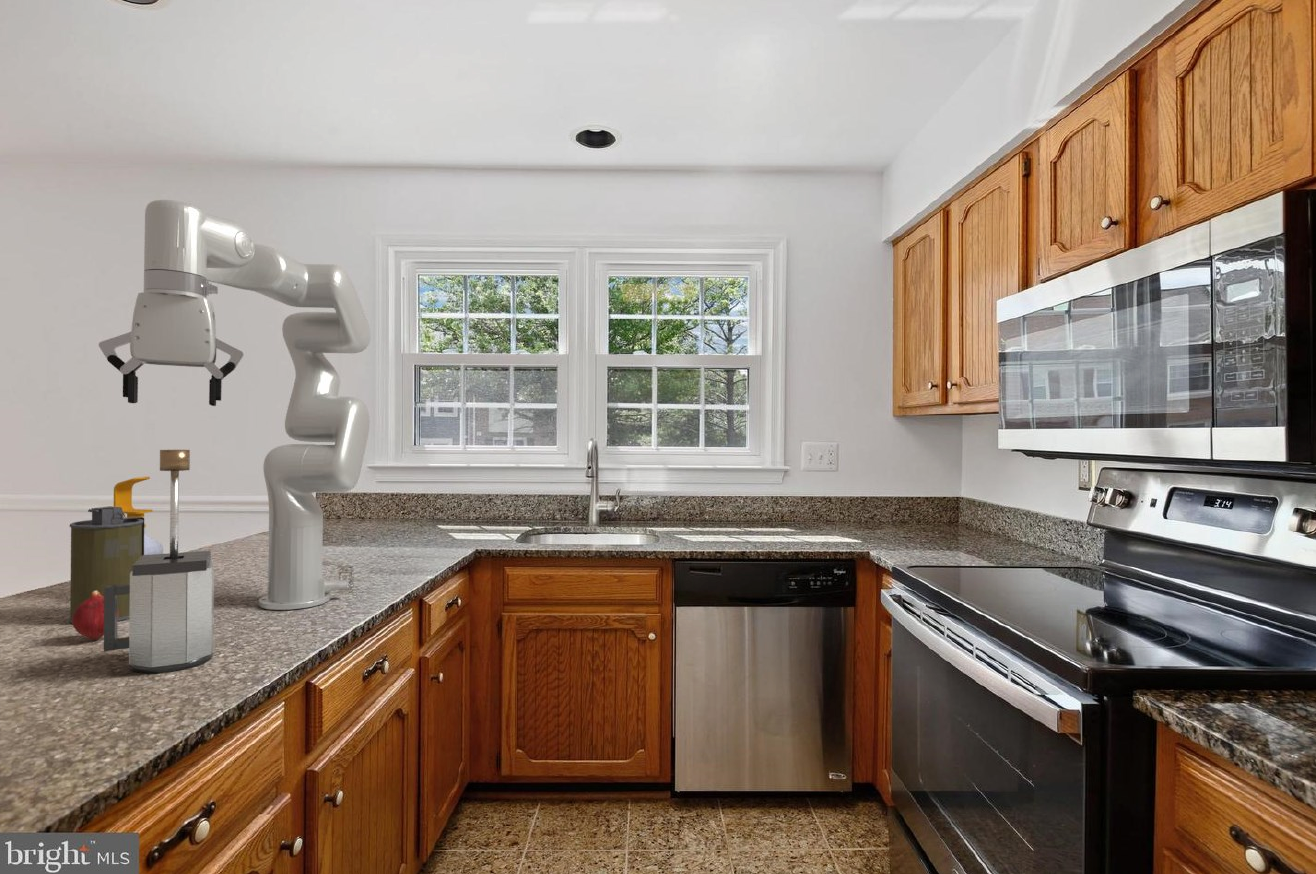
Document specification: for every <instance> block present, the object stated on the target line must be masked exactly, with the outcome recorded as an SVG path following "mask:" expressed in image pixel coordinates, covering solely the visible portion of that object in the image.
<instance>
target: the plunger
mask: <svg viewBox="0 0 1316 874" xmlns="http://www.w3.org/2000/svg"><path fill="white" fill-rule="evenodd" d="M190 451H191V450H190V449H159V471H161V472H163V471H164V472H170V492H169V493H170V496H169V497H170V498H169V500H170V501H169V502H170V504H169V505H170V506H169V515H170V516H169V553H170V559H178V553H179V507H180V506H179V502H180V501H179V499H180V492H179V491H180V489H179V488H180V485H179V484H180V471H181V472H183V471H185V472H186V471H190V469H191V467H190V466H191V465H190V461H191V459H190V455H191V452H190Z"/></svg>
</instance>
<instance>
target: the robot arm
mask: <svg viewBox="0 0 1316 874" xmlns="http://www.w3.org/2000/svg"><path fill="white" fill-rule="evenodd" d="M143 243H144V245H143V246H144V249H143V251H144V252H143V255H144V256H143V260H144V261H143V292H138V293H137V297H136V299H135V305H134V309H133V314H132V319H131V320H132V321H131V328H130V329H131V331H130V332H126V333H124V334H120V335H117V336H114V337H111V338H108V339H106V340H102V341H100V342H99V343H98V347H99V348H100V350H101V352H102V354H103V355H104V357H105V358H106V360H107V362H108V363H109V364H110V365H112V366H113V367H114V368H115V369H117V370H118V371H119V372H120V373H121V374H122V397H123V398H127V403H129V404H137V403H138V400H139V399H138V398H139V396H138V395H139V387H138V386H139V377H138V375H136V372H137V371H138V370H139V369H140V368H142V366H144V365H145V364H147V365H157V366H173V367H174V366H175V367H176V366H177V367H189V368H191V367H193V368H205V369H207V371H208V372H209V373H210V374H211V378H210V379H209V381H208V383H209V385H208V386H209V389H208V390H209V393H208V395H209V396H208V404H209V405H210V406H212V407H216V406H217V401H218V402H220V401H222V387H223V385H222V384H223V382H222V381H223V379H225V378H226V377H227V376H228V375H230V374H231V373H233V371H235V370H236V368H237V366H238V365H239V363H240V362H241V361H242V359H243V357H244V353H243V351H242V350H240V349H238V348H235V347H234V346H231V345H230V344H228V343H226V342H225V341H222V340H220V339H218V338H217V327H216V316H215V311H214V306H213V302H212V301H211V300H210V299H208V298H207V297H209V295H213V294H215V295H217V294H218V292H219V289H218V288H219V287H218V286H219V285H222V286H223V285H224V286H227V287H232V288H234V289H235V288H236V289H240V290H245V291H246V290H247V291H251V292H255V293H258V294H260V295H263V296H265V297H268V298H270V299H272V300H274V301H277V302H279V303H281V304H284V305H286V306H290V307H293V308H294V307H295V308H314V309H315V308H320V309H321V308H323V309H325V308H327V309H331V308H332V309H334V310H335V312H328V311H303V312H301V311H300V312H295V313H292V314H289V315H288V316H286V317H285V319H284V320H283V323H282V326H281V327H282V328H281V329H282V330H281V331H282V336H283V341H284V343H285V345H286V348H287V350H288V353H289V355H290V358H291V360H292V363H293V366H294V370H295V372H294V373H295V379H294V383H293V387H292V391H291V394H290V398H289V403H288V406H287V410H286V415H285V419H284V429H285V433H286V434H287V435H288V437H289V438H291V439H293V440H295V441H299V442H306V443H305V444H304V443H303V444H302V443H301V444H300V443H299V444H298V443H292V444H282V445H278V446H277V447H275V448H273V449H271V450H269V452H268V453H267V454H266V455H265V458H264V460H263V468H262V469H263V476H264V480H265V486H266V491H267V498H268V559H267V560H268V564H267V565H268V567H267V568H268V571H267V573H268V579H267V594H266V595H265V596H262V597H260V598H259V599H258V606H259V607H260V608H261V609H265V610H272V611H273V610H274V611H275V610H276V611H282V610H283V611H285V610H288V611H289V610H297V609H306V608H311V607H312V608H313V607H316V606H320V605H323V604H326V603H327V602H329V601H330V600H331V593H330V592H331V591H346V590H348V579H342V580H340V579H332V580H330V579H325V576H324V574H323V547H324V546H323V544H324V543H323V541H324V538H323V535H324V529H323V528H324V527H323V526H324V524H323V523H324V514H323V511H322V507H321V505H320V503H319V502H318V500H317V499H316V497H315V496H314V494H313V493H323V494H326V493H327V494H329V493H333V494H335V493H347V492H349V491H352V490H353V489H354V488H355V487H356V485H357V484H358V481H359V480H360V475H361V471H362V467H363V462H364V457H365V452H366V447H367V442H368V438H369V437H368V436H369V431H370V425H371V424H370V422H371V421H370V414H369V409H368V407H367V405H366V404H365V402H363V401H362V400H361V399H359V398H356V397H354V396H353V397H351V396H339V392H340V391H339V390H340V387H341V386H340V385H341V379H340V376H339V373H338V372H337V370H336V368H335V367H334V366H333V365H332V363H331V362H330V361H329V360H328V359H327V357H326V356H325V355H324V354H358V353H361V352H364V351H365V350H366V349H367V347H368V346H369V345H370V341H371V329H370V325H369V323H368V319H367V316H366V313H365V311H364V308H363V306H362V302H361V300H360V297H359V295H358V292H357V289H356V287H355V286H354V284H353V281H352V280H351V278H350V276H349V275H348V273H347V272H346V271H345V269H344V268H342V267H341V266H339V265H337V264H325V263H324V264H323V263H322V264H321V263H318V264H317V263H315V264H314V263H310V264H309V263H303V262H299V261H297V260H295V259H293V258H291V257H289V256H287V255H285V254H284V253H283V252H280V251H279V250H277V249H275V248H273V247H271V246H268V245H263V244H258V243H254V240H253V238H252V236H251V234H250V233H249V232H248V231H247V229H245V228H244V226H242V225H240V224H239V223H237V222H234V221H233V220H230V219H227V218H223V217H218V216H215V215H212V214H209V213H206V212H204V211H203V210H202V209H200V208H199V207H197V206H195V205H192V204H190V203H187V202H182V201H178V200H170V199H155V200H153V201H150V202H149V203H147V205H146V208H145V210H144V242H143ZM209 282H210V283H209ZM212 283H213V284H212ZM214 283H215V284H214ZM218 284H219V285H218ZM127 344H128V345H129V349H130V355H131V358H130V359H128V360H127V361H126V362H125V361H123V360H122V359H121V358H120V357H119V355H118V354H117V353H116V348H119V347H122V346H125V345H127ZM217 350H220V351H221V352H223V353H225V354H228V355H229V356H230V358H229V360H228V361H227V362H226V363H225V364H224V365H223V366H221V367H220V368H219V367H218V366H216V364H215V363H216V360H217ZM307 442H308V443H310V444H307ZM311 443H314V444H311ZM315 443H334V444H315Z"/></svg>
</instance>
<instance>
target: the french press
mask: <svg viewBox="0 0 1316 874" xmlns="http://www.w3.org/2000/svg"><path fill="white" fill-rule="evenodd" d="M211 558H212V551H211V550H205V551H204V550H201V551H188V552H187V551H185V552H178V559H170V552H169V553H163V554H153V555H142V556H141V557H140V558H139V559H138V560H137V561H136V562H135V563H134V564H133V567H132V572H131V573H130V584H120V585H118V584H116V585H107V586H106V587H105V588H104V635H103V652H104V653H105V652H112V651H118V650H125V649H128V652H129V654H128V664H129V665H130V669H131V671H132V672H134V673H139V674H144V675H145V674H147V675H149V674H150V675H151V674H152V675H153V674H165V673H172V672H179V671H182V670H188V669H191V668H194V667H198V666H200V665H203V664H205V663H207V662H209V661H210V660H211V659H212V658H213V652H214V651H213V650H214V632H215V631H214V627H215V626H214V624H215V622H214V621H215V620H214V616H215V615H214V613H215V562H212V560H211ZM125 594H130V619H129V629H128V630H129V635H128V637H127V636H126V637H120V638H119V637H118V621H117V614H118V595H125Z"/></svg>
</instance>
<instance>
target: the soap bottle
mask: <svg viewBox="0 0 1316 874" xmlns="http://www.w3.org/2000/svg"><path fill="white" fill-rule="evenodd" d="M150 479H151V477H150V476H139V477H133V478H129V479H126V480H124V481H119V482H117V483H116V484H115V485H114V487H113V507H121V508H122V510H123V513H124V515H126V518H127V517H144V518H145V514H146V513H147V514H148V513H152V512H153V509H147V508H146V509H140V508H139V509H138V508H134V507H133V503H132V502H133V499H132V498H133V494H132V492H133V491H132V490H133V486H134V485H135V484H137V483H140V482H144V481H147V480H150ZM136 519H137V518H136ZM146 525H147V524H146V523H144V555H153V554H164V547H163V545H162V542H159V541H158V540H156V539H154V538H152V537H150V536H148V535H147V532H146V531H147V526H146Z"/></svg>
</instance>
